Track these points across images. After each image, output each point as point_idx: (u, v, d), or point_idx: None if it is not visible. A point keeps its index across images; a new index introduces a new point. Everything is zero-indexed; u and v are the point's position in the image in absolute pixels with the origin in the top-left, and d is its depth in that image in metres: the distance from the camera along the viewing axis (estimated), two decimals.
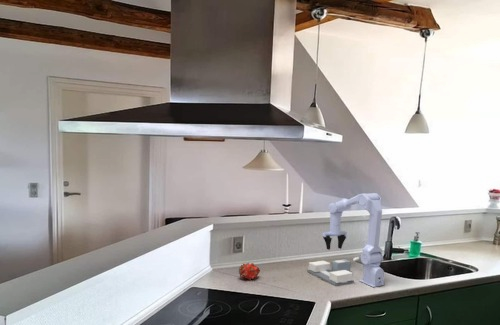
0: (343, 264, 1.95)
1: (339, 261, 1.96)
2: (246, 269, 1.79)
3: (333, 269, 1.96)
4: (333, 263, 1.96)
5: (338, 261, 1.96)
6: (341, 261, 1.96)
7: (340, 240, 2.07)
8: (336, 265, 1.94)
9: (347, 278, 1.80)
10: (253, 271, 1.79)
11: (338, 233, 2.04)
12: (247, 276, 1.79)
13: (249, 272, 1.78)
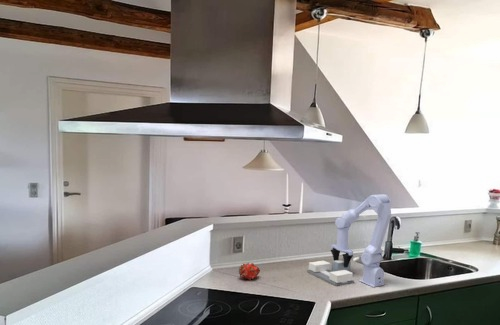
0: (343, 264, 1.95)
1: (339, 261, 1.96)
2: (246, 269, 1.79)
3: (333, 269, 1.96)
4: (333, 263, 1.96)
5: (338, 261, 1.96)
6: (341, 261, 1.96)
7: None
8: (336, 265, 1.94)
9: (347, 278, 1.80)
10: (253, 271, 1.79)
11: (338, 248, 1.95)
12: (247, 276, 1.79)
13: (249, 272, 1.78)
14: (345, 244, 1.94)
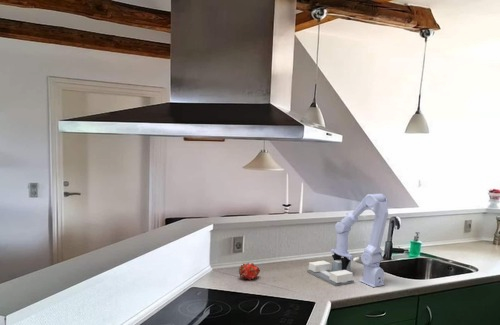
0: None
1: (339, 261, 1.96)
2: (246, 269, 1.79)
3: (333, 269, 1.96)
4: (333, 263, 1.96)
5: (338, 261, 1.96)
6: None
7: None
8: (336, 265, 1.94)
9: (347, 278, 1.80)
10: (253, 271, 1.79)
11: (338, 253, 1.95)
12: (247, 276, 1.79)
13: (249, 272, 1.78)
14: (345, 248, 1.94)
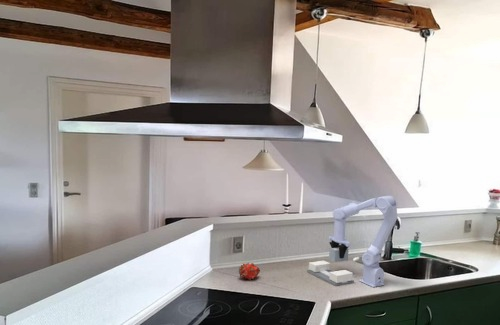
0: None
1: (337, 248, 1.94)
2: (246, 269, 1.79)
3: (330, 256, 1.93)
4: (331, 250, 1.93)
5: (336, 248, 1.94)
6: None
7: None
8: (333, 252, 1.91)
9: (347, 278, 1.80)
10: (253, 271, 1.79)
11: (335, 240, 1.92)
12: (247, 276, 1.79)
13: (249, 272, 1.78)
14: (342, 235, 1.91)
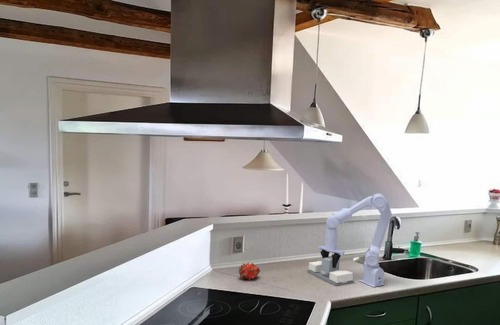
0: None
1: (329, 258, 1.87)
2: (246, 269, 1.79)
3: (324, 267, 1.86)
4: (324, 261, 1.86)
5: (328, 258, 1.87)
6: (331, 258, 1.88)
7: None
8: (327, 263, 1.84)
9: (347, 278, 1.80)
10: (253, 271, 1.79)
11: (328, 249, 1.86)
12: (247, 276, 1.79)
13: (249, 272, 1.78)
14: (335, 244, 1.86)
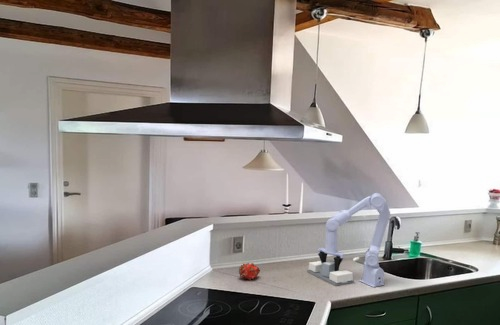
0: (333, 266, 1.86)
1: (329, 263, 1.87)
2: (246, 269, 1.79)
3: (323, 272, 1.86)
4: (323, 265, 1.86)
5: (328, 263, 1.87)
6: (331, 262, 1.88)
7: None
8: (327, 267, 1.84)
9: (347, 278, 1.80)
10: (253, 271, 1.79)
11: (328, 251, 1.86)
12: (247, 276, 1.79)
13: (249, 272, 1.78)
14: (335, 247, 1.86)
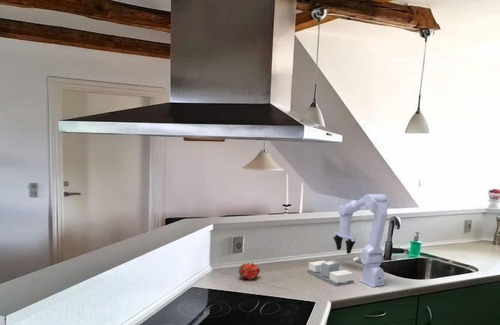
0: (333, 266, 1.86)
1: (329, 263, 1.87)
2: (246, 269, 1.79)
3: (323, 272, 1.86)
4: (323, 265, 1.86)
5: (328, 263, 1.87)
6: (331, 262, 1.88)
7: None
8: (327, 267, 1.84)
9: (347, 278, 1.80)
10: (253, 271, 1.79)
11: (341, 235, 2.01)
12: (247, 276, 1.79)
13: (249, 272, 1.78)
14: (348, 231, 2.00)
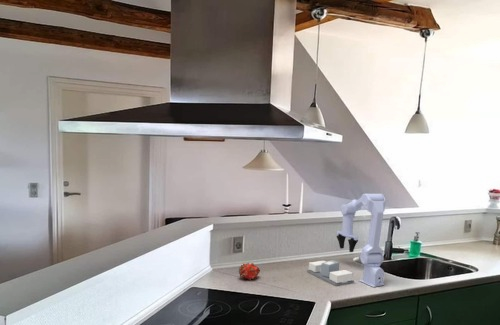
0: (333, 266, 1.86)
1: (329, 263, 1.87)
2: (246, 269, 1.79)
3: (323, 272, 1.86)
4: (323, 265, 1.86)
5: (328, 263, 1.87)
6: (331, 262, 1.88)
7: None
8: (327, 267, 1.84)
9: (347, 278, 1.80)
10: (253, 271, 1.79)
11: (343, 234, 2.04)
12: (247, 276, 1.79)
13: (249, 272, 1.78)
14: (350, 230, 2.03)
